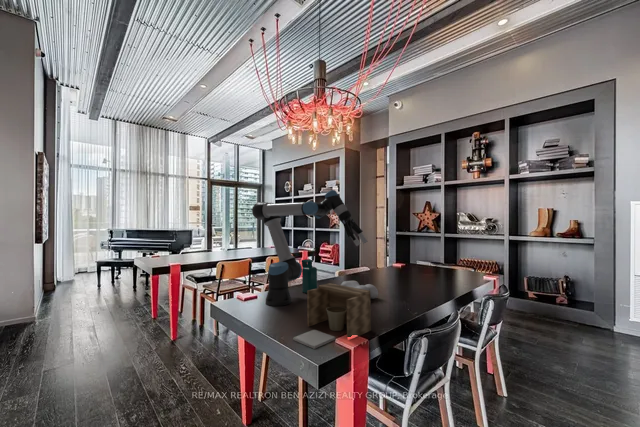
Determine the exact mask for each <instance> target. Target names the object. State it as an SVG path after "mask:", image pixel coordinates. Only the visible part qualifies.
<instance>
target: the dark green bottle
mask: <svg viewBox="0 0 640 427" xmlns="http://www.w3.org/2000/svg"><path fill="white" fill-rule="evenodd" d="M313 263H314V260H313V259H312V260H310V259H301V266H302V273H301V277H302V278H301V284H302V286H301V288H302V289H301V291H302V293H303V292H304V294H307V291H308V290H312V289H317V288H318V269H317V267H315V266H313Z"/></svg>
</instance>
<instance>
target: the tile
mask: <svg viewBox="0 0 640 427" xmlns="http://www.w3.org/2000/svg"><path fill="white" fill-rule="evenodd" d="M292 338H293V339H292V340H293V341H295V342H296V343H299V344H302V345H304V346H306V347H309V348H311V349H314V350H315V349H317V348H319V347H322V346H324V345H326V344H328V343H330V342H332V341H335V340H336V336H334V335H331V334H328V333H325V332H323V331H320V330H317V329H312V330H310V331H309V330H308V331H306V332H304V333H301V334H298V335H297V336H293V337H292Z"/></svg>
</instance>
